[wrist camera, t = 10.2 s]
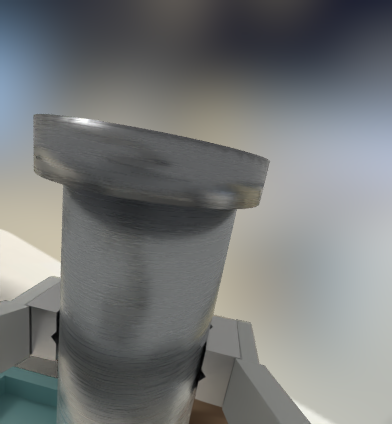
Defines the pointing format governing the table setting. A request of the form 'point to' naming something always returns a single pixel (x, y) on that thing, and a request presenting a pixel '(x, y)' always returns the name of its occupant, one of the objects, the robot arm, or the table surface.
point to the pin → (138, 262)
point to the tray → (27, 397)
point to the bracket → (206, 413)
